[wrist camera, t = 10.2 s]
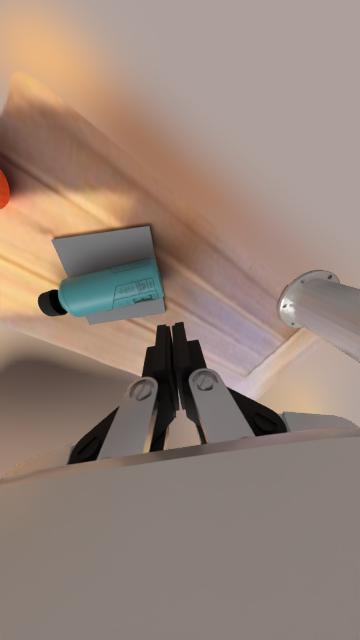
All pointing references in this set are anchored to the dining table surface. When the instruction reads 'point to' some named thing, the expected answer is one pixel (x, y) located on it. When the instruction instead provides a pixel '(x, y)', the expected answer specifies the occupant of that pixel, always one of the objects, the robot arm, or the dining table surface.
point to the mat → (109, 263)
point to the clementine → (4, 191)
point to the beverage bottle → (104, 290)
